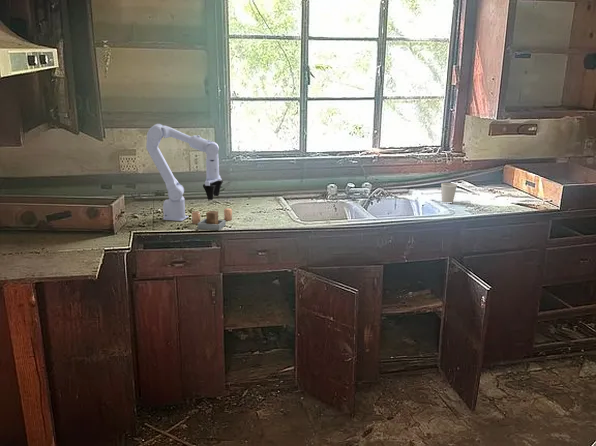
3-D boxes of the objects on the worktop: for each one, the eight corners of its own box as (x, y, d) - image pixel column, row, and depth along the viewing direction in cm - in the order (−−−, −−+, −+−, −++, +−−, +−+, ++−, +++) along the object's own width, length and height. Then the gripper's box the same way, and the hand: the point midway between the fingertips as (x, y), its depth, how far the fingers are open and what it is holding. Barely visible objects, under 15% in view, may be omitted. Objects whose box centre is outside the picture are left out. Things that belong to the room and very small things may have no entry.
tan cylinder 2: (223, 220, 263) (222, 209, 262) (225, 218, 267) (225, 208, 265) (230, 221, 263) (230, 210, 261) (233, 218, 266) (232, 208, 265)
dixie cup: (438, 203, 301) (440, 185, 298) (439, 200, 308) (441, 182, 306) (455, 205, 298) (456, 186, 296) (455, 201, 306) (457, 183, 303)
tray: (197, 228, 250) (197, 223, 250) (204, 223, 258) (204, 218, 257) (219, 230, 248) (219, 225, 248) (225, 225, 256) (225, 220, 255)
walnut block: (206, 226, 251) (206, 212, 250) (210, 223, 255) (209, 210, 254) (215, 226, 251) (214, 213, 249) (218, 224, 254) (218, 211, 253)
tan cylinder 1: (191, 223, 258) (190, 212, 256) (194, 221, 261) (193, 210, 259) (198, 224, 257) (198, 213, 255) (201, 222, 260) (201, 211, 259)
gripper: (215, 172, 252) (215, 202, 256) (226, 166, 266) (226, 194, 269) (200, 171, 253) (201, 201, 257) (212, 165, 267) (212, 193, 271)
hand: (213, 197), depth 263 cm, fingers open, 7 cm apart
